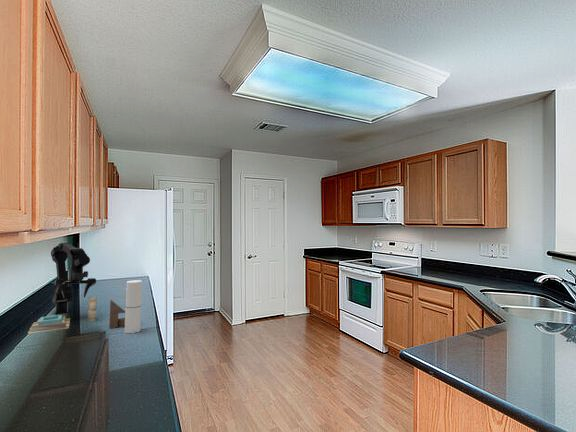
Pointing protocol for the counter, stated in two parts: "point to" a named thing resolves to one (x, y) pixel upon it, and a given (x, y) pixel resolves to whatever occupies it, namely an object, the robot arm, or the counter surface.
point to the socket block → (50, 320)
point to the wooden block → (116, 315)
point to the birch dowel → (92, 308)
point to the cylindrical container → (133, 306)
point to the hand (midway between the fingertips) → (74, 297)
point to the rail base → (49, 326)
